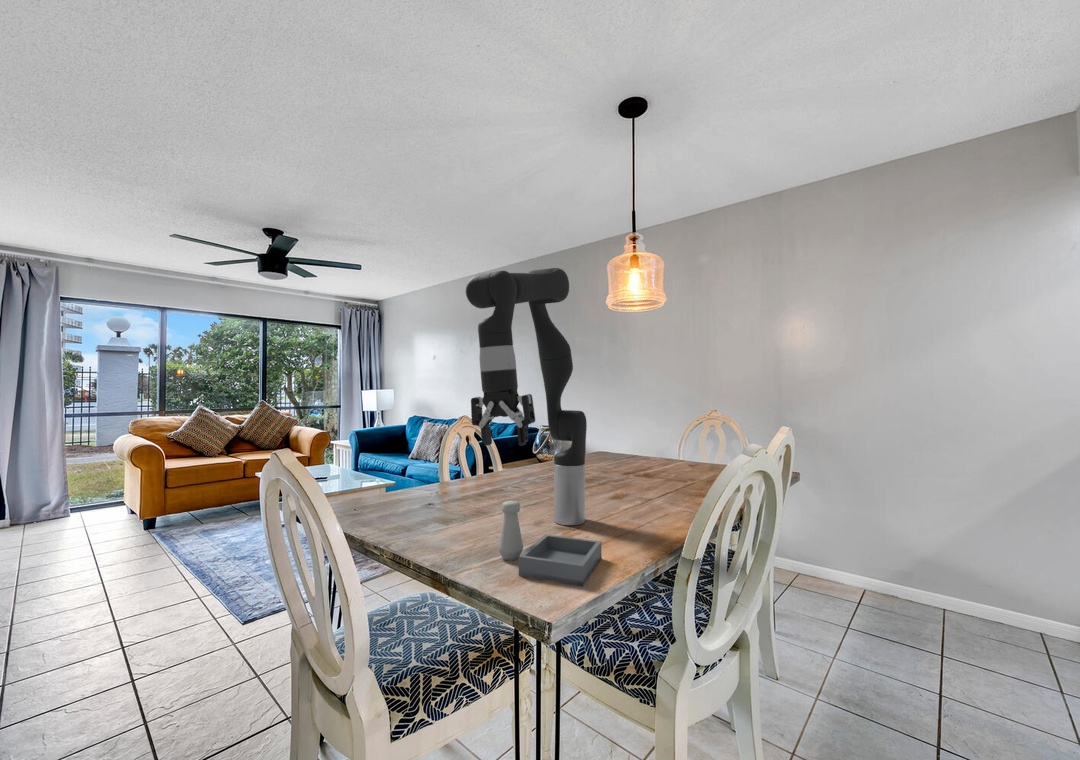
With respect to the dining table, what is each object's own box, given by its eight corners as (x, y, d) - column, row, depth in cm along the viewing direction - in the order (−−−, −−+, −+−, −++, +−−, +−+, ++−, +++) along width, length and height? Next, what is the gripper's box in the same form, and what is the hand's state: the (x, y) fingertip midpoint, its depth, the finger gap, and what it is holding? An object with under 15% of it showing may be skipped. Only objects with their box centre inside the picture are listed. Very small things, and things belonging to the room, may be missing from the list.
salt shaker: (510, 551, 109) (510, 497, 110) (528, 556, 106) (528, 501, 106) (493, 558, 105) (493, 502, 105) (511, 564, 101) (511, 506, 102)
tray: (545, 550, 110) (545, 534, 110) (601, 558, 105) (601, 541, 105) (518, 575, 95) (518, 556, 95) (582, 586, 90) (582, 566, 90)
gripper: (536, 365, 94) (542, 441, 95) (480, 370, 101) (486, 441, 101) (519, 366, 88) (526, 449, 88) (460, 371, 94) (466, 448, 95)
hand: (504, 444), depth 95 cm, fingers open, 8 cm apart
